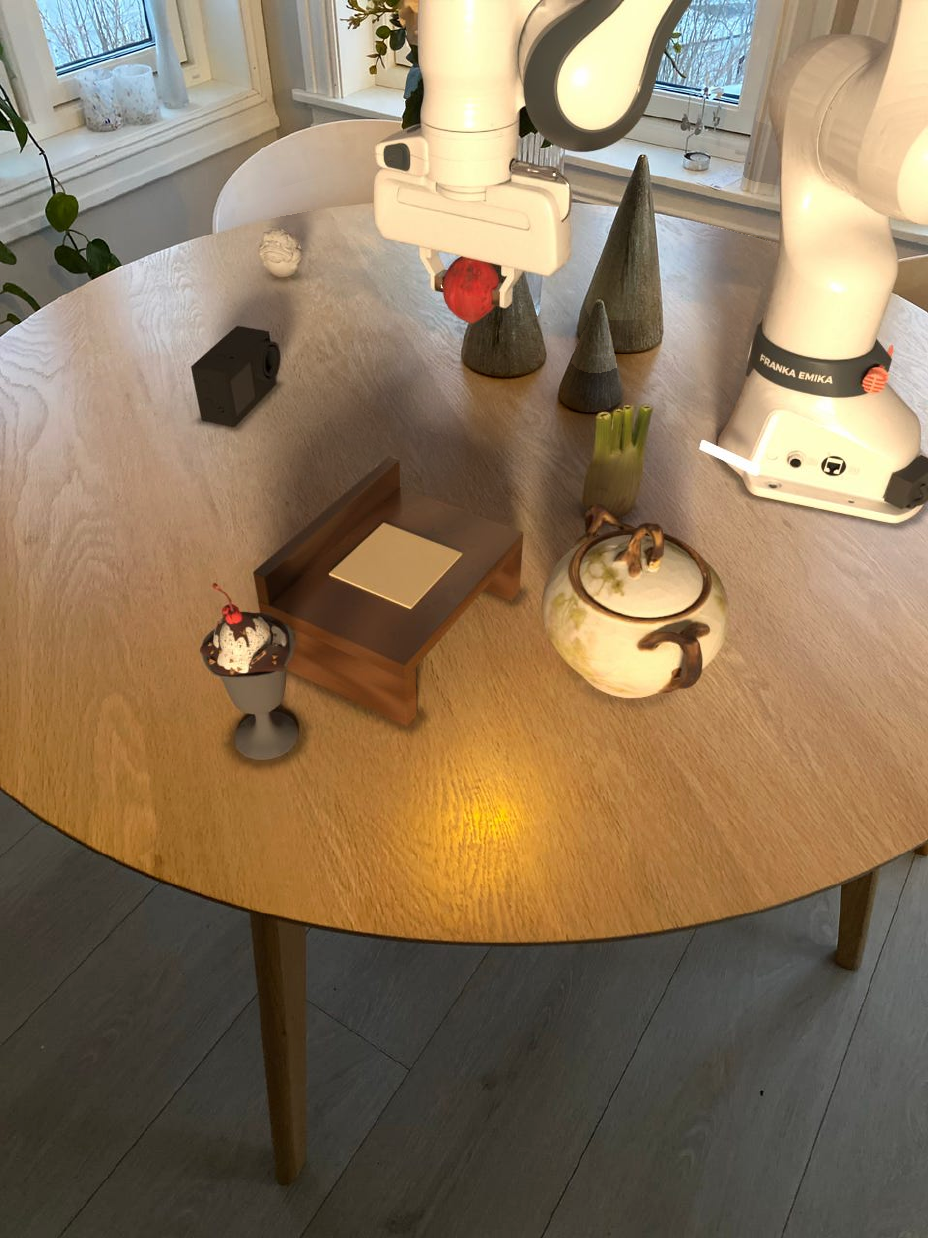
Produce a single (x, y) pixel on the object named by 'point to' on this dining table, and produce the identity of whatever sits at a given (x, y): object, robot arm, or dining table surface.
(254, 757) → the sundae
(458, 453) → the dining table surface
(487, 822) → the dining table surface
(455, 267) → the pomegranate
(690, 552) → the sugar bowl
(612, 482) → the fennel bulb
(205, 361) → the digital camera
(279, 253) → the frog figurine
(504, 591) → the shelf
